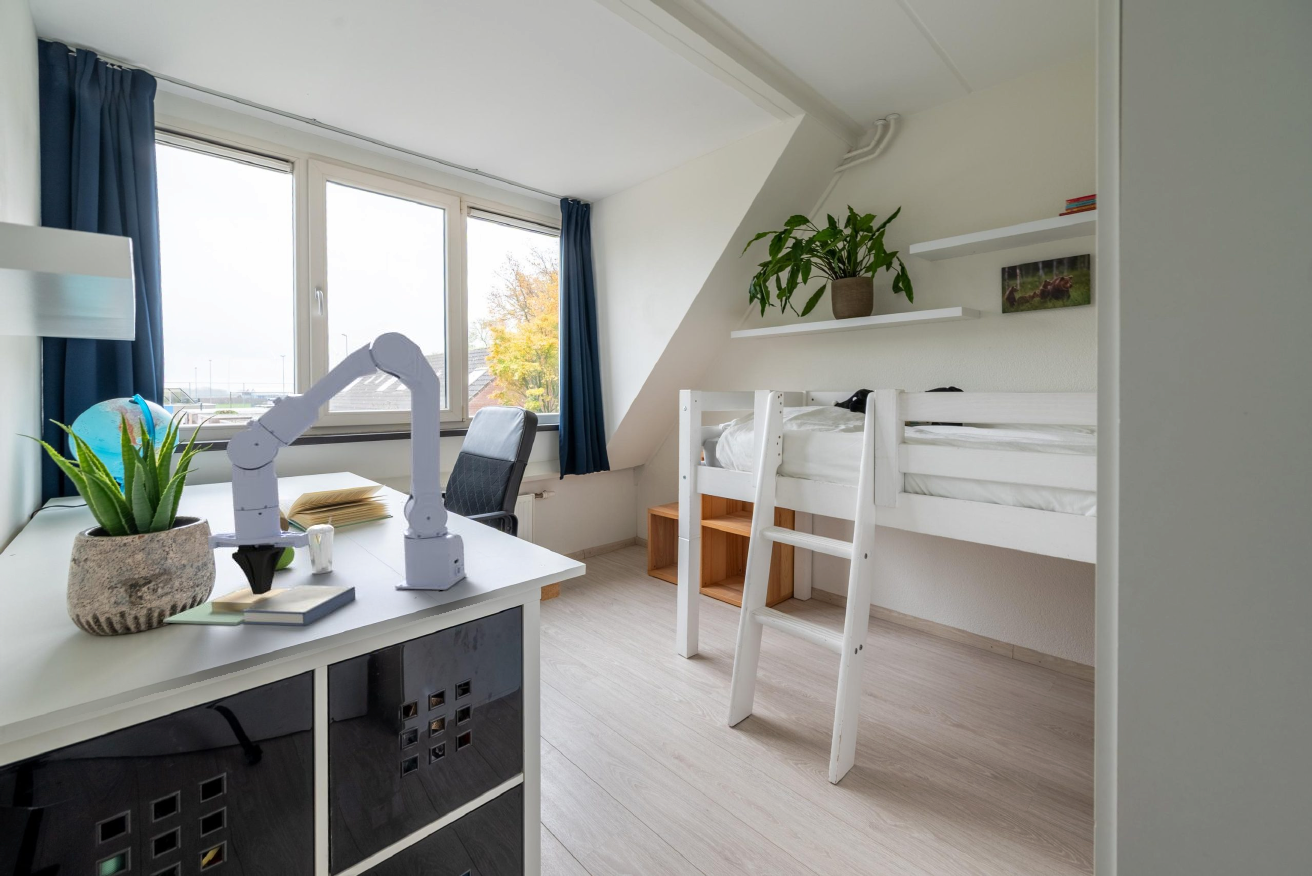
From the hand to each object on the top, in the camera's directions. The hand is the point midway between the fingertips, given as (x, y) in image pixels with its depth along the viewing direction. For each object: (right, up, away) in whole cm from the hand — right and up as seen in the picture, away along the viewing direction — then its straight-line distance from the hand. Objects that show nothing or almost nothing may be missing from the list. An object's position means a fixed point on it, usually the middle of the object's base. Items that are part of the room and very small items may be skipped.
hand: (262, 592), depth 85 cm
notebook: (+7, -3, -1) cm, 7 cm away
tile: (-2, -2, +1) cm, 4 cm away
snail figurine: (-12, -2, +21) cm, 24 cm away
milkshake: (-2, -2, +19) cm, 20 cm away
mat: (-5, -3, +1) cm, 6 cm away
